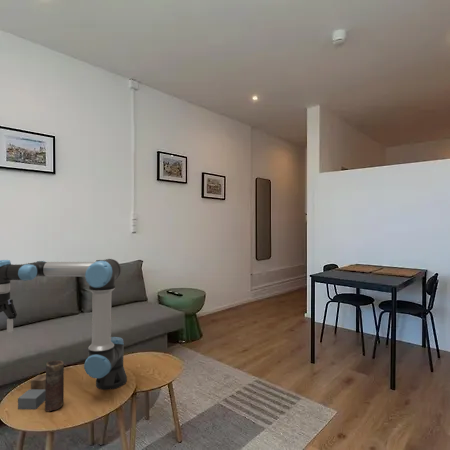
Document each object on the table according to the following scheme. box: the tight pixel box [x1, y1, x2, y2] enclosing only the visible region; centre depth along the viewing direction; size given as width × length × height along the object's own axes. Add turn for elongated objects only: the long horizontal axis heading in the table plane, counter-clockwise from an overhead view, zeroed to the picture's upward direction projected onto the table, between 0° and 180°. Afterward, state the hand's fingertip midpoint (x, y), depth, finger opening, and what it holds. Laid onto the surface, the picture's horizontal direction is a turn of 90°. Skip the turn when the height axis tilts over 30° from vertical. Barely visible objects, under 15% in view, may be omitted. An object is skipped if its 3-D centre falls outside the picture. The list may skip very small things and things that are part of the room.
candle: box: [44, 359, 65, 412], centre depth 144 cm, size 8×7×20 cm
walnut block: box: [30, 374, 46, 390], centre depth 156 cm, size 6×6×8 cm
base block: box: [17, 388, 45, 410], centre depth 147 cm, size 8×8×5 cm
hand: (0, 336), depth 155 cm, fingers open, 13 cm apart
